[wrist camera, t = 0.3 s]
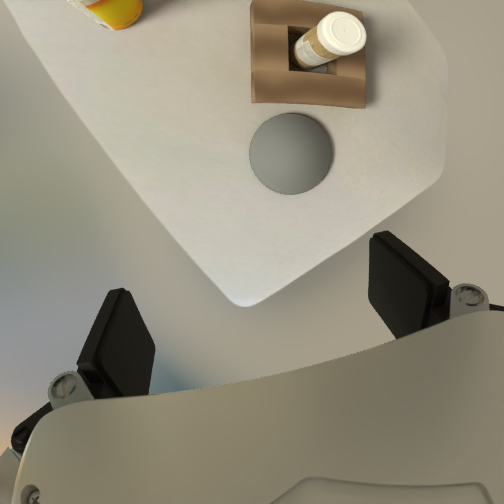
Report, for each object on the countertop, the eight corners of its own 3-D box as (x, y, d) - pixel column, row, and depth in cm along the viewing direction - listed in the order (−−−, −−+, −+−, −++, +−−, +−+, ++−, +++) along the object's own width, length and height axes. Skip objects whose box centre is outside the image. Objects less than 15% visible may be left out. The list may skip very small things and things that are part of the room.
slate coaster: (248, 113, 35) (249, 113, 35) (330, 115, 36) (332, 115, 36) (250, 194, 40) (250, 196, 39) (327, 192, 41) (329, 194, 40)
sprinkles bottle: (308, 34, 31) (350, 4, 19) (327, 61, 33) (376, 42, 21) (281, 49, 32) (313, 20, 20) (300, 76, 34) (341, 59, 22)
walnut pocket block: (250, 6, 29) (253, -3, 25) (351, 18, 30) (362, 11, 27) (251, 102, 35) (255, 101, 32) (353, 108, 36) (365, 108, 33)
